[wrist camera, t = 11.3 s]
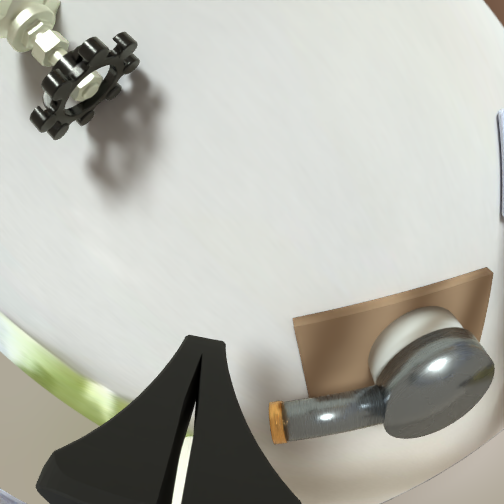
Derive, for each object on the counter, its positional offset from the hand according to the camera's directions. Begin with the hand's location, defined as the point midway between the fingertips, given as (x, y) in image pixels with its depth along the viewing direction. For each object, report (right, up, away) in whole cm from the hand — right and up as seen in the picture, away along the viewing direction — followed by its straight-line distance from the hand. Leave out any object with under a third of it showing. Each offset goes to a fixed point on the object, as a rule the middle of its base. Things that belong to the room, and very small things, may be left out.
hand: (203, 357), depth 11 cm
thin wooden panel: (+14, -5, +12) cm, 19 cm away
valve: (-10, +17, +3) cm, 20 cm away
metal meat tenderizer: (+11, -6, +8) cm, 15 cm away
